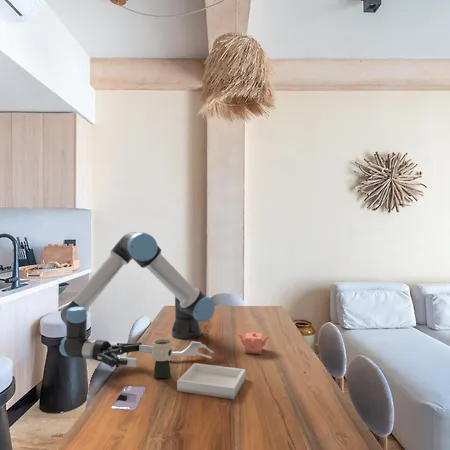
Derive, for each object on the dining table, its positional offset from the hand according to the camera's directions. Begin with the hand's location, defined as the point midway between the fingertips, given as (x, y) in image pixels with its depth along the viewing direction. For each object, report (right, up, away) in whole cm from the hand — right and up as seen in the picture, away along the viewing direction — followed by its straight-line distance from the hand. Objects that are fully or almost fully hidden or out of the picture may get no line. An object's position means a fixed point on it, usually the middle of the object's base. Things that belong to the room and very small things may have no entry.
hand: (145, 356), depth 135 cm
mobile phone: (-1, -8, -18) cm, 20 cm away
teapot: (+42, -7, +25) cm, 50 cm away
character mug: (+6, -7, -1) cm, 10 cm away
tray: (+25, -7, -8) cm, 27 cm away
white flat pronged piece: (+15, -7, +16) cm, 23 cm away
